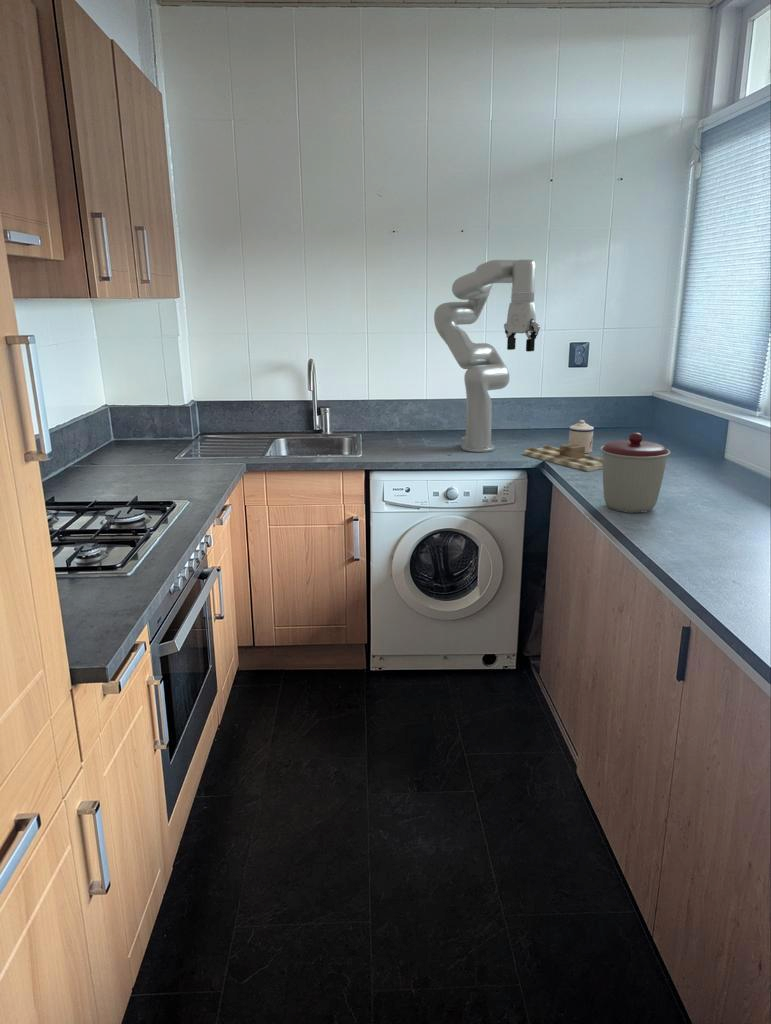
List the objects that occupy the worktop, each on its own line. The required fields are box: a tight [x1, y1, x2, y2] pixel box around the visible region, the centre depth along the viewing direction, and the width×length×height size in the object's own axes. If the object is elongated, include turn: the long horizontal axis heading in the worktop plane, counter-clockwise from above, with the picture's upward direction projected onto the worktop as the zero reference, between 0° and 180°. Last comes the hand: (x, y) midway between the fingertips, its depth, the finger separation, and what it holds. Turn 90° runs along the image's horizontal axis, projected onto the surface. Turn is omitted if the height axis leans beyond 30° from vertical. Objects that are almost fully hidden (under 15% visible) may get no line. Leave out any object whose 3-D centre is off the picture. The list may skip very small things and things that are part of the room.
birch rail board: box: [523, 444, 603, 472], centre depth 258 cm, size 32×12×2 cm, turn 31°
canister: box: [599, 432, 671, 513], centre depth 198 cm, size 18×18×21 cm
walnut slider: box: [559, 443, 586, 459], centre depth 255 cm, size 6×6×4 cm
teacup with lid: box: [568, 419, 595, 454], centre depth 273 cm, size 12×9×12 cm
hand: (520, 350), depth 250 cm, fingers open, 9 cm apart
